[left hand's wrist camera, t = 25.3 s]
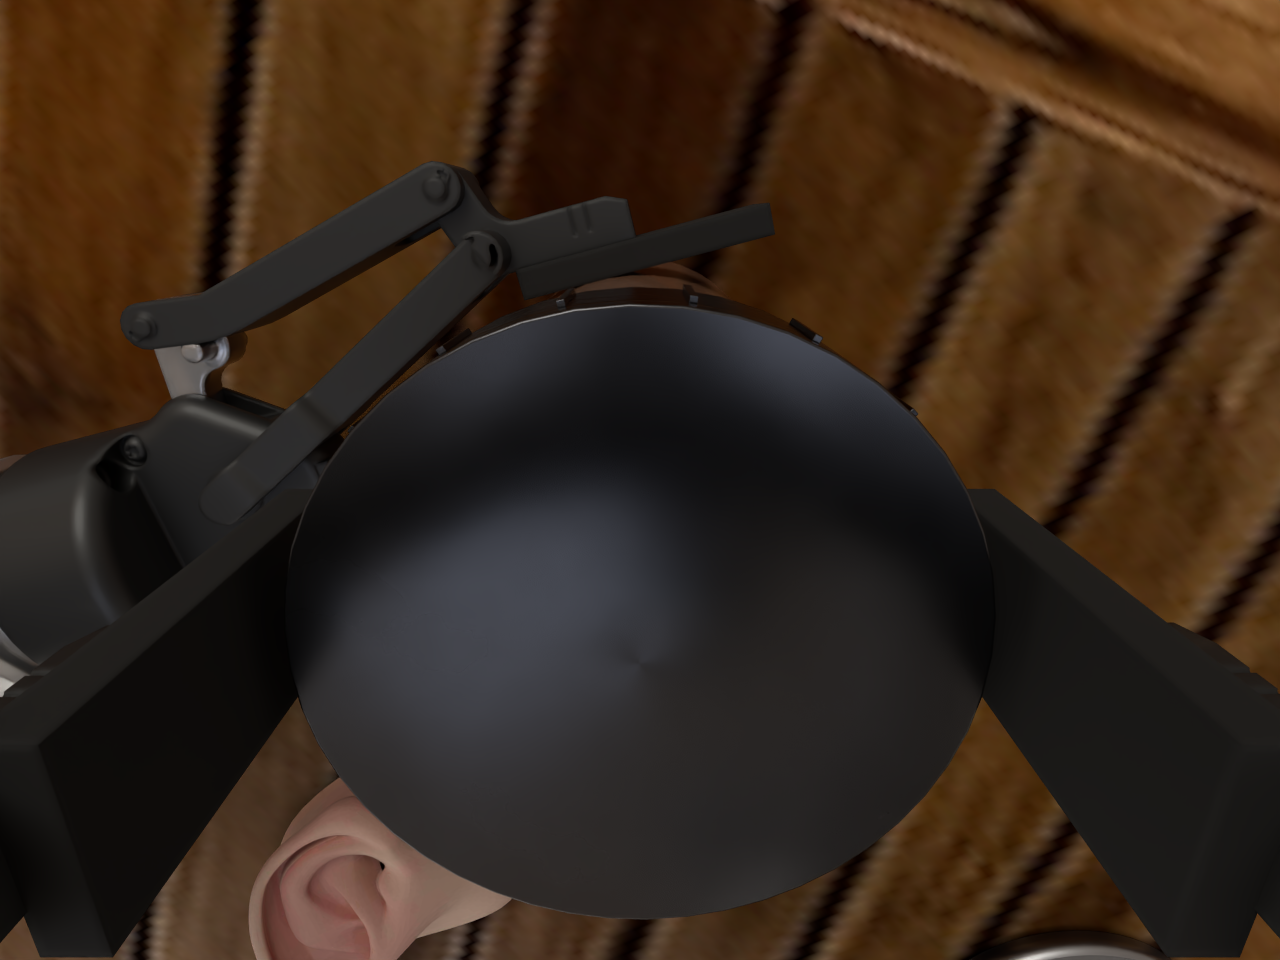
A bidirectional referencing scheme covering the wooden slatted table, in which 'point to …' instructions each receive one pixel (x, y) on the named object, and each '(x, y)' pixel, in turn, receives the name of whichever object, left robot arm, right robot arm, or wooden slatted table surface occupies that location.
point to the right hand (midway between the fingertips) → (794, 391)
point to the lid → (639, 606)
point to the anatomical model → (353, 888)
